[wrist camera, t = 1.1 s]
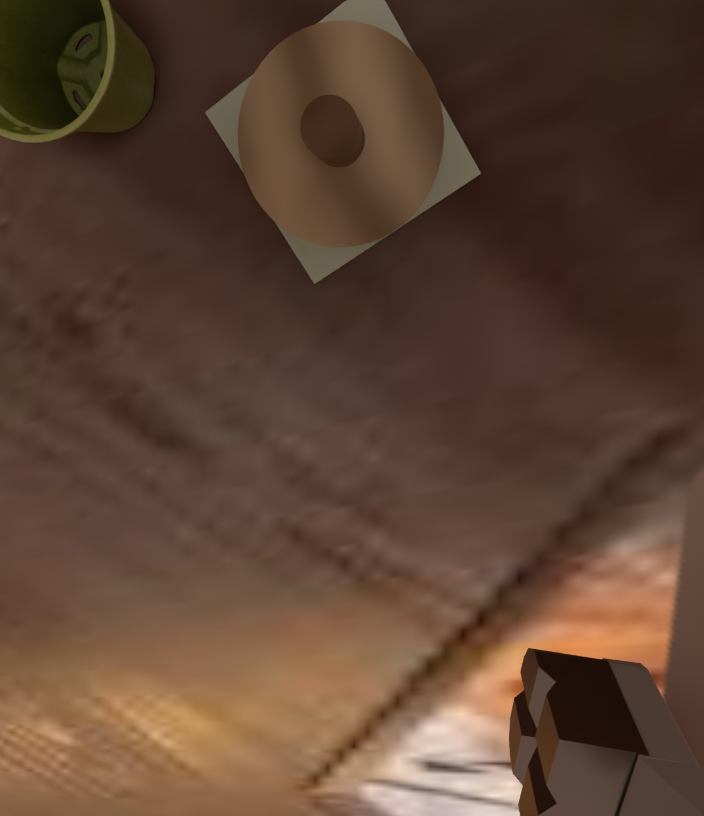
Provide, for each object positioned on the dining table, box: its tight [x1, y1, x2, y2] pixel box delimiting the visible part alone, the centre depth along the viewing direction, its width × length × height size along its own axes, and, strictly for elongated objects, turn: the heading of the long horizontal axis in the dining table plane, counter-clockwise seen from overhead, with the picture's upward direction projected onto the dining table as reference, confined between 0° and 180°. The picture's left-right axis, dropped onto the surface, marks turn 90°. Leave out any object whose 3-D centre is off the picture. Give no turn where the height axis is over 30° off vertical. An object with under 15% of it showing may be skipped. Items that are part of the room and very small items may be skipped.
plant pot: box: [0, 0, 155, 143], centre depth 32 cm, size 9×9×9 cm
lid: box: [238, 20, 444, 247], centre depth 32 cm, size 12×12×5 cm
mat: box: [205, 0, 481, 284], centre depth 35 cm, size 12×12×1 cm
